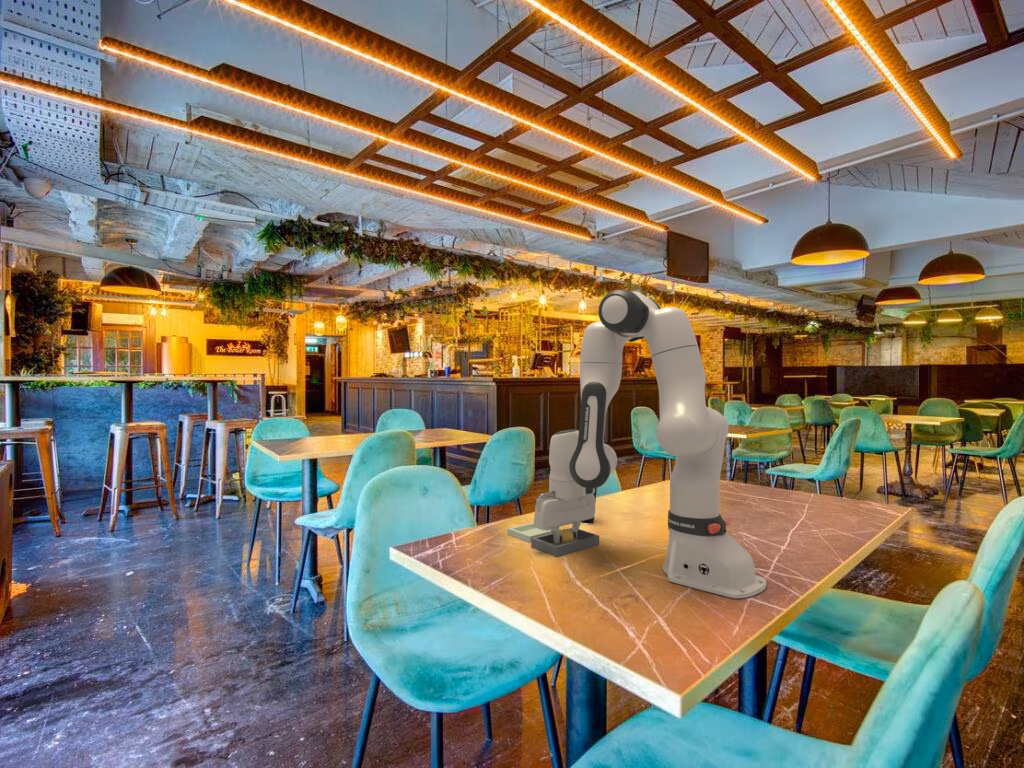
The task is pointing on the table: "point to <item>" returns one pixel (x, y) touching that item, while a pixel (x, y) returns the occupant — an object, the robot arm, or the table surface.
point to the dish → (557, 549)
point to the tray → (527, 532)
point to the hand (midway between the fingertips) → (565, 540)
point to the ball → (566, 536)
